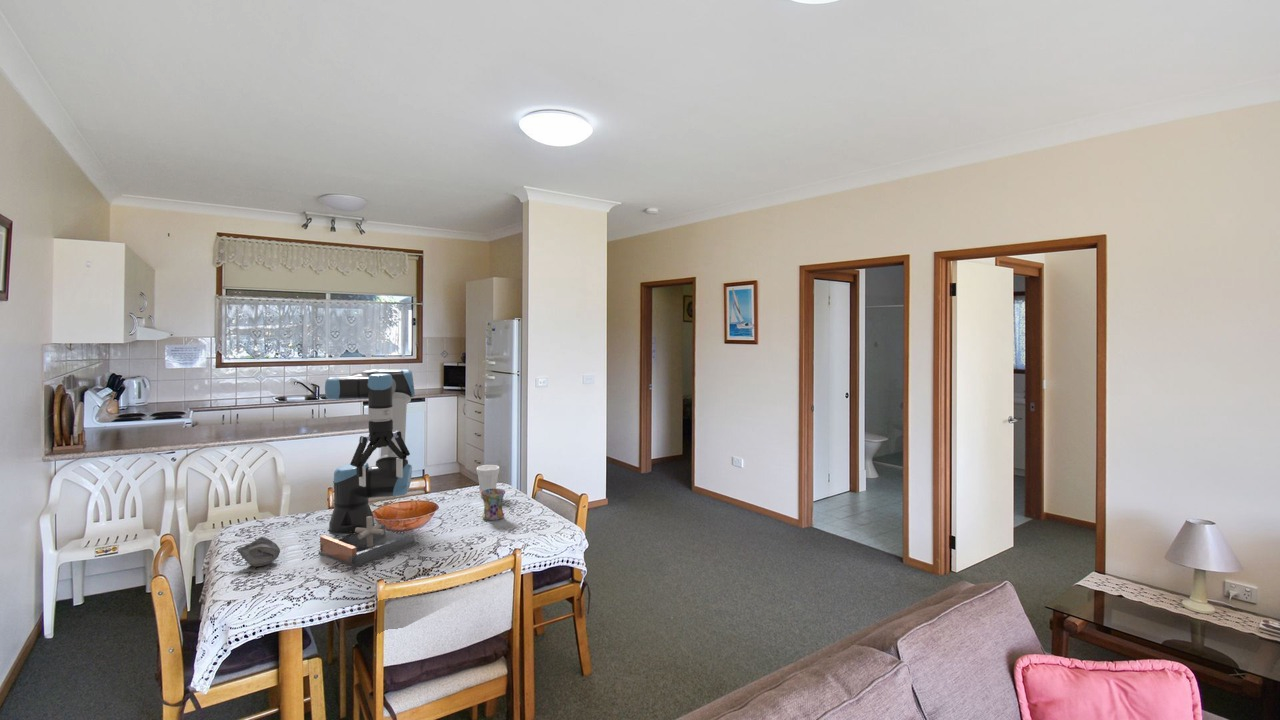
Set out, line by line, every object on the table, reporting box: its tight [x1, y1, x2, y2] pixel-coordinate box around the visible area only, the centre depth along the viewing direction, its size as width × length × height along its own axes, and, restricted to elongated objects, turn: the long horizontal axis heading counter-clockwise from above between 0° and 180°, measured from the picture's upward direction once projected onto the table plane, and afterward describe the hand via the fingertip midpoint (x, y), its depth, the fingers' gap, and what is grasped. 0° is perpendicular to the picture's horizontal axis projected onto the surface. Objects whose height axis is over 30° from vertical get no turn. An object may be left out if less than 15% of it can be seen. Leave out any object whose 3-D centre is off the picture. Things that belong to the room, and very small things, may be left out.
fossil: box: [237, 536, 281, 567], centre depth 186 cm, size 11×9×8 cm
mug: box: [480, 487, 506, 521], centre depth 233 cm, size 12×9×11 cm
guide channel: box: [318, 523, 420, 569], centre depth 200 cm, size 24×20×6 cm
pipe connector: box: [354, 516, 384, 547], centre depth 200 cm, size 10×10×10 cm
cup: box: [476, 464, 501, 498], centre depth 260 cm, size 10×10×13 cm
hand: (381, 481), depth 200 cm, fingers open, 13 cm apart
